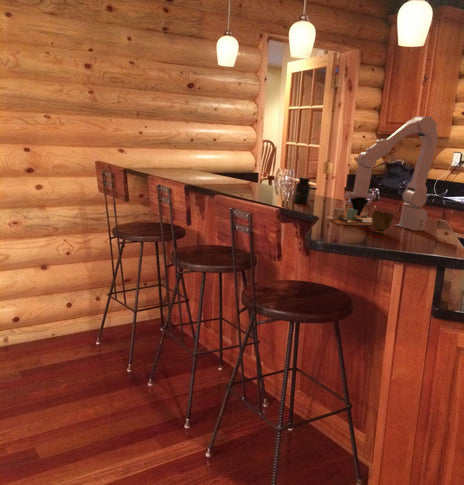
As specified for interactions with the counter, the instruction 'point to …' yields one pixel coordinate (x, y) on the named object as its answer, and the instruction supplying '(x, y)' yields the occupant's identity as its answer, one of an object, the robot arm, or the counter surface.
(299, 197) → the supplement bottle
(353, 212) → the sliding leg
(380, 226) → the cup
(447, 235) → the counter surface
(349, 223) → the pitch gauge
